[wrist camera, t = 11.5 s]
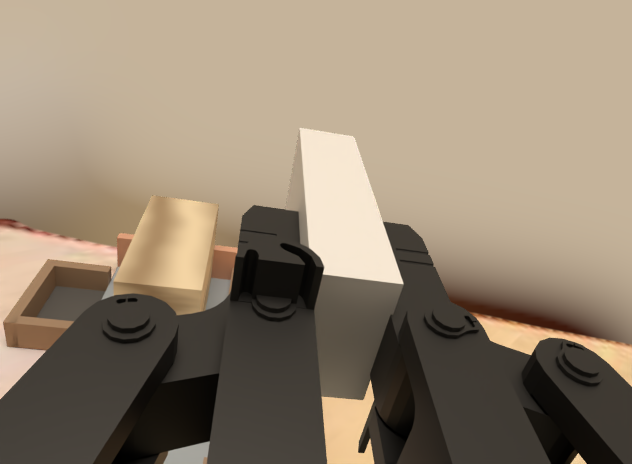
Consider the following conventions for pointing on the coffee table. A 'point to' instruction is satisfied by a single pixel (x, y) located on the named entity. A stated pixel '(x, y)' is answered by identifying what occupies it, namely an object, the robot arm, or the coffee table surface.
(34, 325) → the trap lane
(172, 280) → the maple block
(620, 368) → the coffee table surface
